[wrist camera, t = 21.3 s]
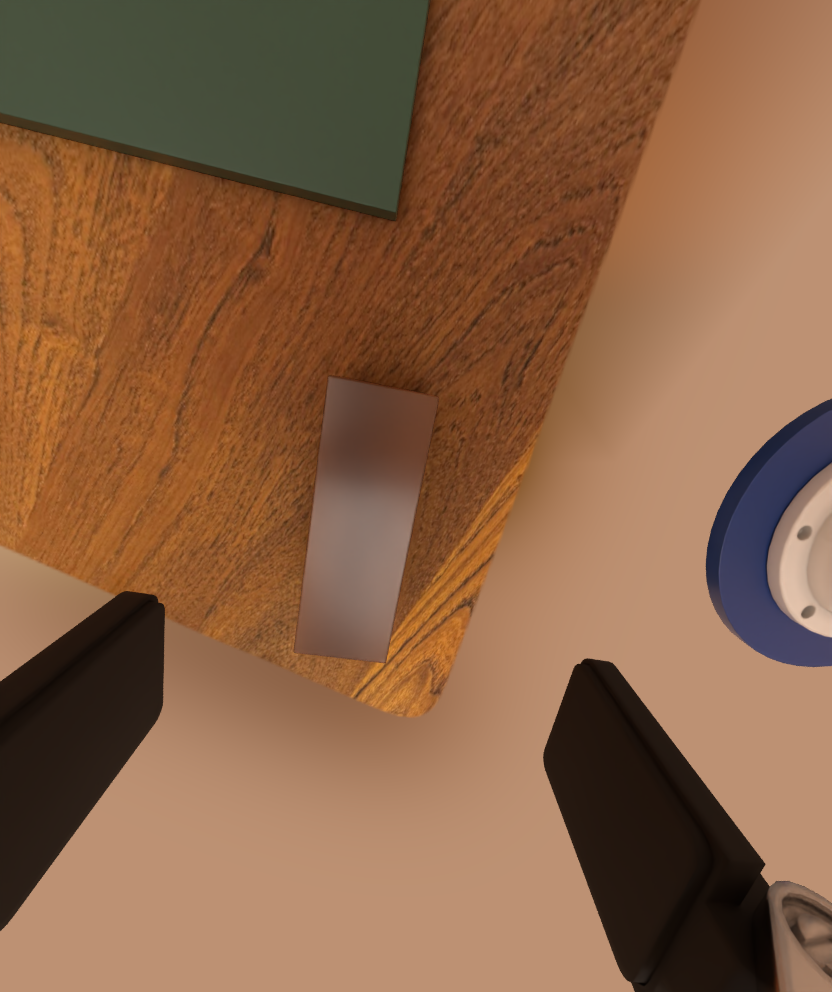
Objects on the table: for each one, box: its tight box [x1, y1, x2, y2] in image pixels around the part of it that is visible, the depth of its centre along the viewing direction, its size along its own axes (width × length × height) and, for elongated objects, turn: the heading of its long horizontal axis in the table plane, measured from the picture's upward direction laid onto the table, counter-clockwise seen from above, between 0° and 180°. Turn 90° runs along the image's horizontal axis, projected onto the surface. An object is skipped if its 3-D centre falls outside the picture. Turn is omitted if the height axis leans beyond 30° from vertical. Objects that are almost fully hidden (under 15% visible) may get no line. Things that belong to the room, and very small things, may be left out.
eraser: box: [294, 375, 439, 663], centre depth 20 cm, size 4×13×6 cm, turn 169°
